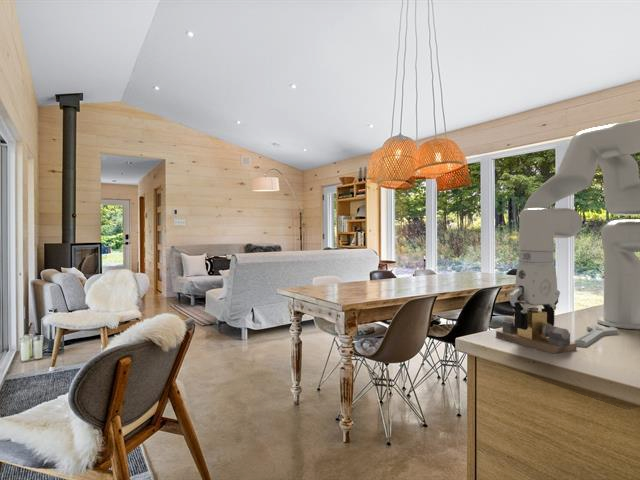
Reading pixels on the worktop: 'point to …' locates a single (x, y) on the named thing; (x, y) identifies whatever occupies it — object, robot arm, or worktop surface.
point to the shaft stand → (553, 343)
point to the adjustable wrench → (594, 335)
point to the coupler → (534, 324)
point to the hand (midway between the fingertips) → (534, 326)
